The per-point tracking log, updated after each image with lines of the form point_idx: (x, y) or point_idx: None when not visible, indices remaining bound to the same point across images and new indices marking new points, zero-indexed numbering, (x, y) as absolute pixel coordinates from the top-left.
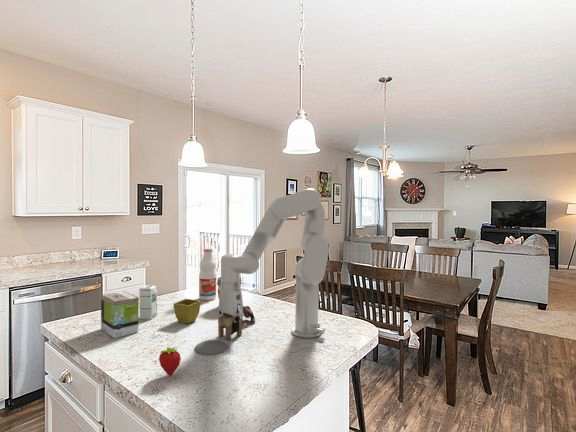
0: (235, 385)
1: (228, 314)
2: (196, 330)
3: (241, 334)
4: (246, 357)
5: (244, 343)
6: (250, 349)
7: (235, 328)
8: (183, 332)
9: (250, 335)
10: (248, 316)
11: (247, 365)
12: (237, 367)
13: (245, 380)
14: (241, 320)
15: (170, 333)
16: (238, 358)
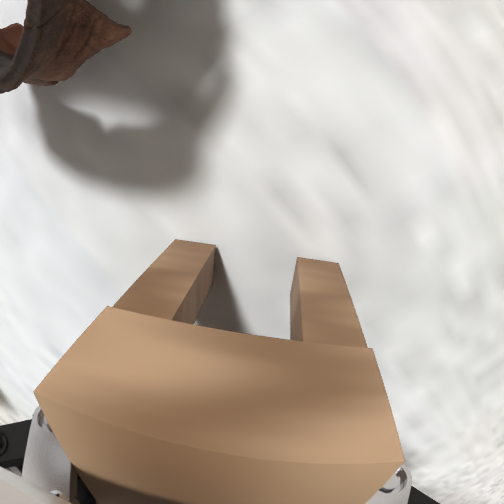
0: (480, 501)
1: (115, 488)
2: (11, 350)
3: (337, 269)
4: (488, 442)
5: (442, 371)
6: (494, 395)
7: None
8: (14, 390)
9: (421, 217)
10: None
11: (498, 460)
12: (469, 481)
13: (499, 484)
14: (376, 391)
15: (8, 410)
16: (459, 463)
